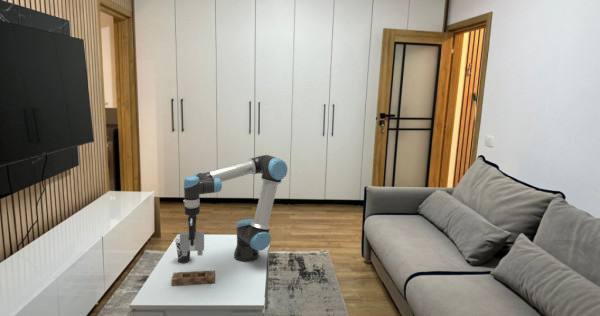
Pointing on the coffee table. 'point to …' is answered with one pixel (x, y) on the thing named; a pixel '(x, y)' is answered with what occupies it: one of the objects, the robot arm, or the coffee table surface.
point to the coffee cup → (181, 258)
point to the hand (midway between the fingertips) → (192, 248)
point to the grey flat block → (186, 244)
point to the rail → (193, 278)
